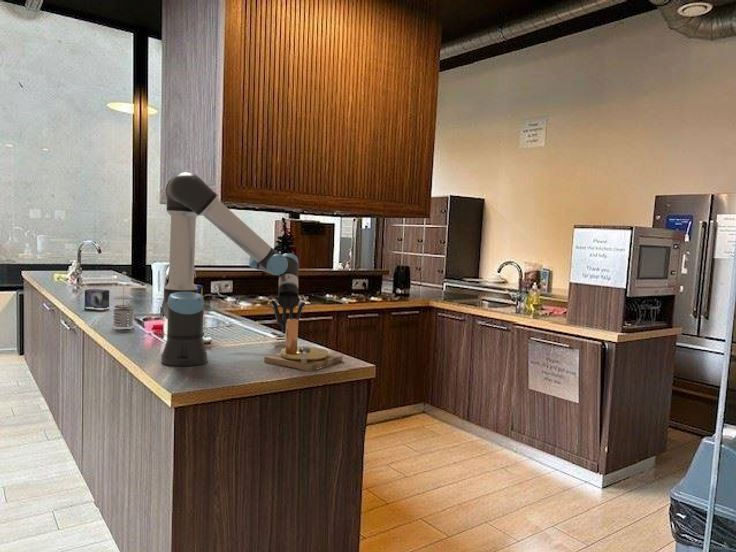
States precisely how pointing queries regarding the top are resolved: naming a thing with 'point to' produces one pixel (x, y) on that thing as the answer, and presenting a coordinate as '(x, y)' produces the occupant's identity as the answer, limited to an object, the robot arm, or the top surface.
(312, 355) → the disc
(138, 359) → the top surface
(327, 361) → the levelling stand
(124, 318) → the french press
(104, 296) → the small box
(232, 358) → the top surface
